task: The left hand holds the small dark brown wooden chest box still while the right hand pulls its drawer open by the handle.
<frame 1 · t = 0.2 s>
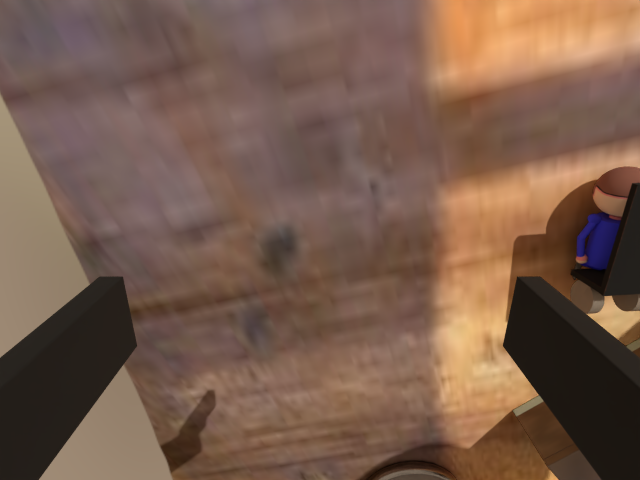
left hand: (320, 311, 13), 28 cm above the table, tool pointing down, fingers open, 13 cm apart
figurine character: (595, 232, 41), on the table
wooden chest box: (593, 399, 50), on the table
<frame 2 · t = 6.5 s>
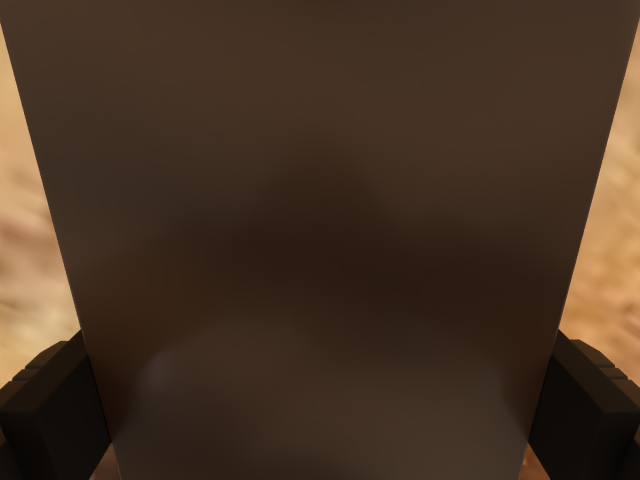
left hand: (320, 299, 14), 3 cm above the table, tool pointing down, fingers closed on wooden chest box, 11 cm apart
wooden chest box: (319, 158, 15), on the table, touching left hand
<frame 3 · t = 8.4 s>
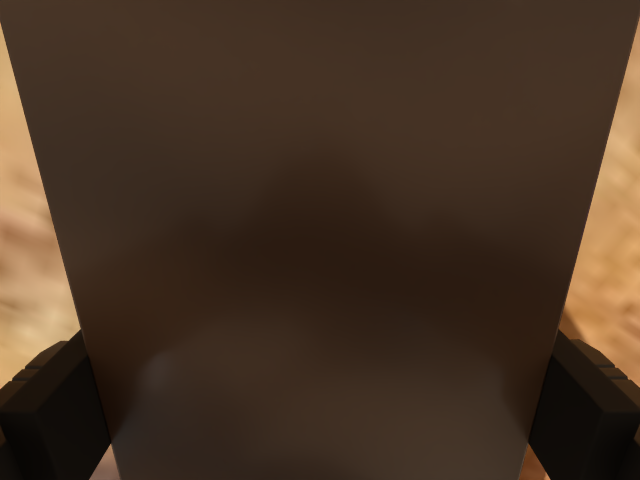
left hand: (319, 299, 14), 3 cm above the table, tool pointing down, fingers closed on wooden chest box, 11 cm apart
wooden chest box: (319, 158, 15), on the table, touching left hand
when the left hand's fingers open (3 cm above the table, at t = 11.1 s): wooden chest box stays where it is, on the table.
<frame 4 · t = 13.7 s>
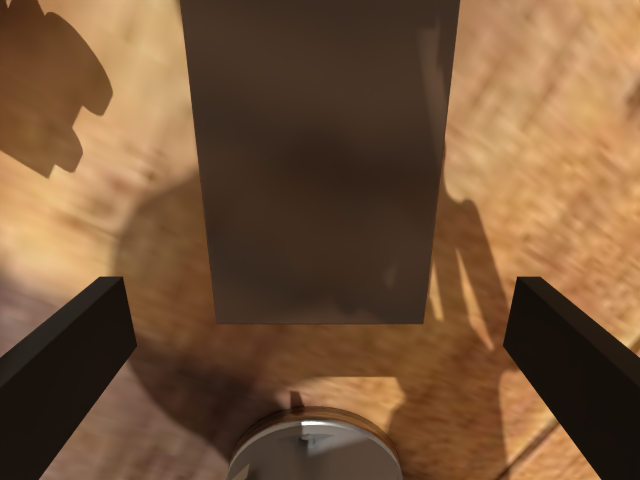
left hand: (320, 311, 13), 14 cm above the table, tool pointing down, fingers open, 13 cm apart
wooden chest box: (320, 127, 24), on the table
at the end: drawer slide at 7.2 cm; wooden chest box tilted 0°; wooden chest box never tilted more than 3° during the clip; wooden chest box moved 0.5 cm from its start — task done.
